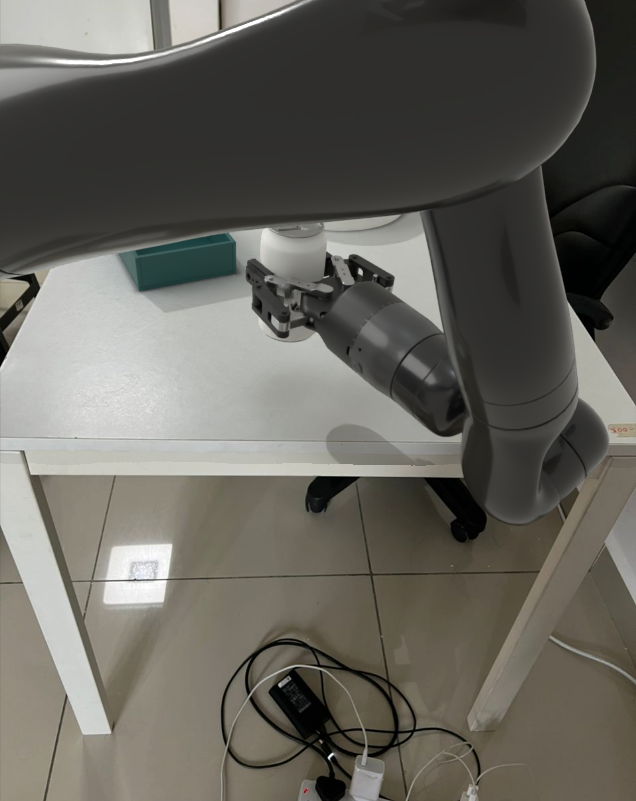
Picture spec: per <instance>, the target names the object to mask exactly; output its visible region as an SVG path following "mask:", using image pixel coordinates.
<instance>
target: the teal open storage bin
mask: <svg viewBox="0 0 636 801" xmlns="http://www.w3.org/2000/svg"><path fill="white" fill-rule="evenodd" d="M118 255H119V257H120V259H121V261H122V263H123V265H124V266H125V268H126V270H127V272H128V273H129V276H130V277H131V279H132V281H133V283H134V285H135V287H136V288H137V290H138V292H143V291H149V290H154V289H158V288H159V289H160V288H165V287H170V286H176V285H181V284H186V283H187V284H188V283H192V282H197V281H198V282H199V281H203V280H209V279H214V278H220V277H224V276H231V275H235V274H236V275H237V241H236V240H235V239H234V238H233V236H232V235H231V233H223V234H216V235H211V236H205V237H200V238H194V239H189V240H184V241H180V242H175V243H170V244H165V245H160V246H154V247H149V248H144V249H138V250H133V251H127V252H122V253H118Z"/></svg>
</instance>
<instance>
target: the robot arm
mask: <svg viewBox="0 0 636 801" xmlns="http://www.w3.org/2000/svg"><path fill="white" fill-rule="evenodd" d="M596 71H597V51H596V41H595V33H594V27H593V22H592V20H591V16H590V13H589V10H588V7H587V4H586V1H585V0H293V1H291V2H289V3H287V4H285V5H281V6H279V7H277V8H275V9H273V10H270V11H268V12H266V13H263V14H260V15H258V16H255V17H252V18H250V19H247V20H244V21H241V22H239V23H236V24H233V25H231V26H227V27H225V28H222V29H219V30H217V31H216V30H215V31H214V32H211V33H209V34H206V35H203V36H200V37H197V38H195V39H192V40H189V41H186V42H185V41H184V42H181V43H178V44H174V45H170V46H167V47H164V48H158V49H153V50H147V51H140V52H135V53H133V52H132V53H102V52H101V53H100V52H99V53H97V52H88V51H82V50H75V49H69V48H62V47H55V46H47V45H40V44H39V45H38V44H28V43H27V44H26V43H0V281H2V280H3V281H4V280H7V279H11V278H12V279H13V278H16V277H21V276H25V275H31V274H36V273H40V272H43V271H48V270H51V269H54V268H58V267H61V266H66V265H70V264H73V263H78V262H81V261H87V260H90V259H95V258H99V257H106V256H110V255H116V254H119V253H122V252H127V251H133V250H138V249H144V248H149V247H154V246H160V245H165V244H170V243H175V242H180V241H184V240H189V239H194V238H200V237H205V236H211V235H216V234H223V233H229V234H231V233H236V232H237V233H238V232H244V231H254V230H262V229H263V230H264V228H273V227H282V226H293V225H303V224H313V223H323V222H334V221H344V220H354V219H365V218H375V217H385V216H394V215H400V216H402V215H408V214H416V213H419V217H420V220H421V224H422V228H423V232H424V236H425V240H426V245H427V250H428V255H429V260H430V266H431V270H432V276H433V282H434V289H435V294H436V295H435V296H436V299H437V305H438V311H439V317H440V322H441V327H442V330H441V328H439V327H438V326H437V325H436V324H435V323H434V322H433V321H431V319H429V318H428V317H427V316H425V315H424V314H422V312H420V311H418V310H417V309H416V308H414V307H413V306H411V305H409V304H408V303H407V302H405V301H404V300H402V299H401V298H400V297H399V296H397V295H395V294H394V293H393V291H394V285H395V280H396V277H395V275H393V274H392V273H390V272H388V271H386V270H384V269H383V268H381V267H380V266H378V265H376V264H374V263H372V262H371V261H370V260H367V259H366V258H364V257H363V256H361V255H359V254H357V253H350V254H349V255H348V258H343V257H342V256H341V255H338V254H337V255H333V254H331V253H330V252H328V251H327V250H326V259H325V270H324V279H322V280H320V281H315V282H308V281H305V280H302V279H298V278H295V277H292V278H291V279H290V280H286V279H283V278H280V277H277V276H274V273H273V272H271V271H270V270H269V269H267V268H266V267H265V266H264V265H263V264H261V263H260V260H258V259H257V258H250V259H248V260H247V261H246V265H245V280H246V283H248V284H249V285H251V291H252V296H251V298H252V299H251V300H252V301H251V310H252V311H253V312H254V313H255V315H257V317H258V318H259V317H260V318H261V320H262V321H263V322H264V323H265V324H266V325H267V326H268V327H269V328H270V329H271V330H272V332H273V333H274V334H275V335H276V336H277V337H279V338H287V337H289V331H290V329H293V328H297V327H300V326H304V327H305V328H307V329H310V330H313V331H315V332H316V333H317V334H318V335H319V336H320V338H321V340H322V341H323V342H322V343H323V344H324V345H325V347H326V348H327V350H329V351H330V352H331V353H332V354H333V355H334V356H336V357H337V358H338V359H339V360H340V361H342V362H343V363H344V364H345V365H346V366H347V367H348V368H350V370H352V371H353V372H355V373H356V374H357V375H358V377H360V378H361V379H363V380H364V381H365V382H366V383H368V385H370V386H371V387H372V388H373V389H375V390H376V391H378V392H379V393H381V394H383V395H384V396H386V397H387V398H389V399H390V400H392V401H393V402H394V403H395V404H397V405H398V406H399V407H400V408H402V409H403V410H404V412H406V413H408V414H409V415H410V416H411V417H412V418H414V419H415V421H417V422H418V423H419V424H421V425H422V426H423V427H424V428H426V430H428V431H429V432H431V433H432V434H433V435H436V436H438V437H441V438H451V437H455V436H458V435H460V434H461V437H460V438H461V440H460V453H459V454H460V467H461V472H462V478H463V479H464V482H465V484H466V488H467V490H468V491H469V494H470V495H471V497H472V499H473V500H474V501H475V503H476V504H477V505H478V506H479V508H480V509H482V511H484V513H486V514H487V515H488V516H489V517H491V518H492V519H494V520H495V521H498V522H500V523H502V524H505V525H508V526H514V527H524V526H531V525H533V524H536V523H538V522H540V521H542V520H543V519H544V518H546V517H547V516H548V515H549V514H551V512H552V511H554V509H555V508H557V507H558V506H559V505H560V503H561V502H563V501H564V500H565V499H566V497H568V496H569V495H570V494H571V493H572V492H573V491H574V490H575V489H576V488H577V487H578V486H580V484H582V483H583V481H584V480H585V479H586V478H587V477H588V476H589V475H590V474H591V473H592V472H594V470H596V469H597V468H598V467H599V465H600V464H601V463H602V462H603V461H604V459H605V458H606V457H607V455H608V452H609V448H610V435H609V433H608V429H607V427H606V425H605V423H604V420H603V419H602V418H601V417H600V415H599V414H598V413H597V411H596V410H595V409H594V408H593V407H592V406H591V405H590V404H588V403H587V401H584V399H582V398H580V397H579V393H580V392H579V389H580V388H579V376H578V369H577V367H578V366H577V357H576V346H575V339H574V333H573V331H574V330H573V325H572V319H571V314H570V309H569V302H568V299H567V298H568V297H567V294H566V289H565V285H564V281H563V276H562V271H561V267H560V262H559V258H558V253H557V249H556V245H555V241H554V240H555V239H554V236H553V230H552V226H551V222H550V216H549V210H548V204H547V200H546V193H545V185H544V177H543V169H542V165H544V164H545V163H546V162H547V161H548V160H549V159H550V158H551V157H552V156H553V155H554V154H556V152H557V151H558V150H559V149H560V148H561V147H562V146H563V145H564V144H565V143H566V142H567V140H568V138H569V137H570V135H571V134H572V133H573V132H574V130H575V128H576V127H577V125H578V124H579V123H580V121H581V119H582V116H583V114H584V112H585V110H586V108H587V106H588V103H589V101H590V98H591V95H592V92H593V87H594V83H595V79H596ZM360 270H361V271H362V274H360V273H359V271H360ZM277 288H278V289H281V290H283V291H284V292H285V297H283V296H280V295H277ZM297 290H298V291H301V300H300V306H299V305H298V304H297V302H296V298H297Z"/></svg>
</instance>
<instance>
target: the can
mask: <svg viewBox="0 0 636 801" xmlns="http://www.w3.org/2000/svg"><path fill="white" fill-rule="evenodd" d="M323 229H324V223H313V224H303V225H293V226H282V227H273V228H264V229H263V230H262V233H261V236H260V253H259V255H260V256H259V262H260V263H261V264H263V265H264V266H265V267H266V268H267V269H269V270H270V271H271V272H273V273H274V276H277V277H280V278H283V279H286V280H290V279H291V278H292V277H295V278H298V279H302V280H305V281H308V282H315V281H320V280H322V279H324V278H325V277H324V270H325V259H326V251H327V246H328V239H327V235H326V232H325V230H323ZM277 295H280V296H283V297H285V292H284V291H283V290H281V289H278V288H277ZM300 300H301V291H298V290H297V298H296V302H297V304H298V305H299V306H300ZM258 327H259V328H260V330H261V331H262V332H263V333H264V335H265V336H267V337H269V338H270V339H272V340H273V341H277V342H281V343H289V344H290V343H292V344H293V343H301V342H304V341H307V340H308V339H309V338H312V336H314V335H315V334H316V333H317V332H315V331H313V330H310V329H307V328H305V327H304V326H300V327H297V328H293V329H290V331H289V337H287V338H279V337H277V336H276V335H275V334H274V333H273V332H272V330H271V329H270V328H269V327H268V326H267V325H266V324H265V323H264V322H263V321H262V320H261V318H260V317H259V316H258Z"/></svg>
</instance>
